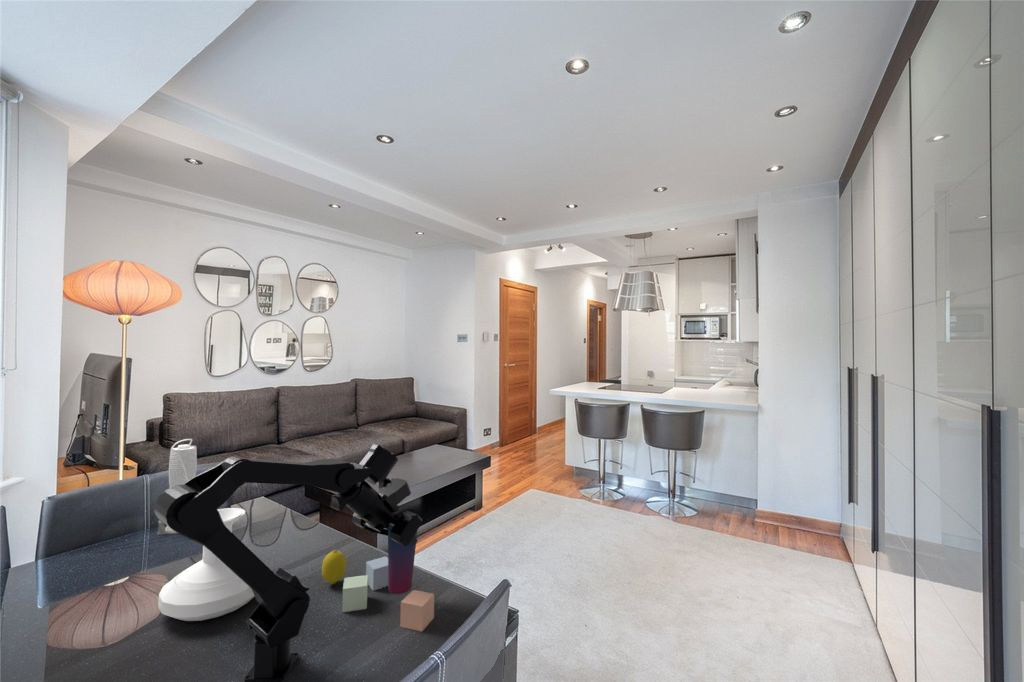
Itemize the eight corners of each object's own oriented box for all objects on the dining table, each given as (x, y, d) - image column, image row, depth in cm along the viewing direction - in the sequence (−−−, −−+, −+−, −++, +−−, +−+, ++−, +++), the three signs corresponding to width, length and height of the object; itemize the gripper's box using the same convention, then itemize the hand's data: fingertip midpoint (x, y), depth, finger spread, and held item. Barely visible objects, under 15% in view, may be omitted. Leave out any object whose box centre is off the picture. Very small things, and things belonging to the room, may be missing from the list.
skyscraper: (172, 524, 142) (176, 438, 143) (200, 523, 143) (203, 437, 145) (156, 534, 134) (160, 443, 135) (185, 533, 135) (189, 442, 136)
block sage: (366, 609, 95) (367, 585, 95) (342, 612, 93) (342, 589, 93) (367, 597, 99) (367, 574, 100) (344, 600, 98) (344, 577, 98)
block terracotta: (421, 632, 87) (422, 606, 87) (400, 627, 88) (400, 602, 89) (433, 618, 92) (434, 593, 92) (413, 613, 93) (413, 589, 93)
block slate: (393, 584, 105) (393, 563, 105) (373, 591, 102) (373, 569, 102) (385, 576, 109) (385, 556, 109) (365, 582, 106) (366, 561, 106)
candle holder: (135, 639, 84) (140, 538, 85) (183, 587, 103) (186, 505, 104) (251, 623, 89) (254, 528, 90) (276, 576, 108) (279, 498, 109)
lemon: (337, 591, 102) (338, 556, 102) (316, 588, 103) (317, 554, 103) (350, 579, 107) (351, 546, 108) (330, 577, 108) (331, 544, 109)
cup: (382, 583, 99) (386, 516, 100) (412, 579, 102) (415, 513, 103) (386, 598, 93) (389, 526, 94) (417, 593, 96) (421, 523, 97)
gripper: (416, 476, 90) (453, 516, 98) (365, 463, 102) (402, 499, 110) (382, 526, 84) (426, 564, 92) (332, 505, 95) (374, 541, 103)
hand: (407, 539), depth 99 cm, fingers closed on cup, 6 cm apart
